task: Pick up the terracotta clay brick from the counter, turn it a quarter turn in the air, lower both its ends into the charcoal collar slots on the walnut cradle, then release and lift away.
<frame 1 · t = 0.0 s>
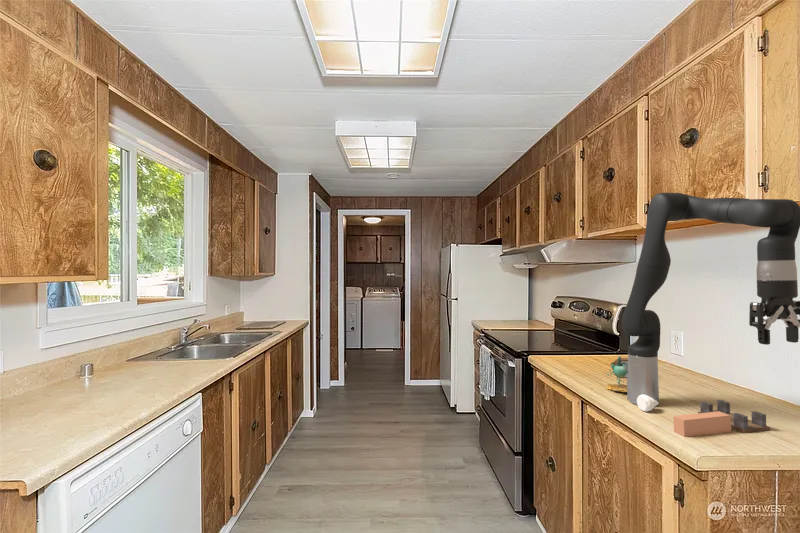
hand: (778, 343, 102), 29 cm above the worktop, fingers open, 8 cm apart
frog figurine: (621, 391, 160), on the worktop
cradle: (731, 422, 126), on the worktop
tin: (631, 378, 179), on the worktop
garlic bulb: (649, 410, 138), on the worktop
terracotta clay brick: (702, 432, 120), on the worktop
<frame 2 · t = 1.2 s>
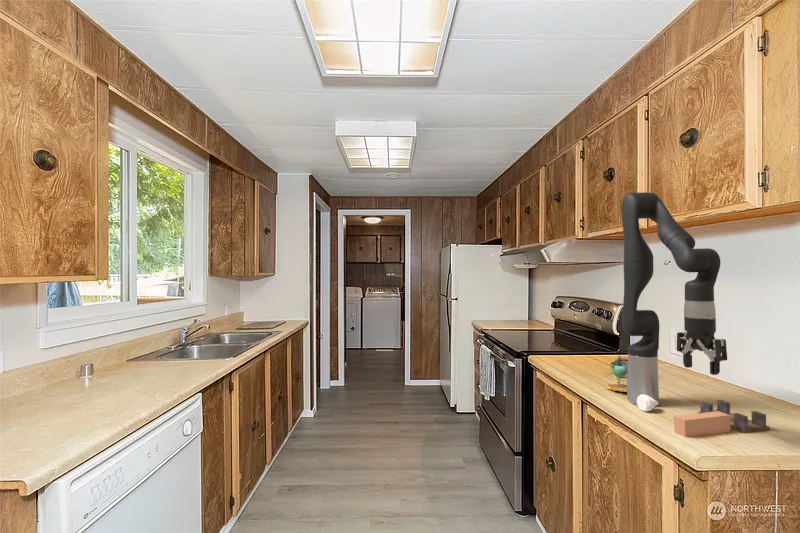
hand: (700, 370, 120), 18 cm above the worktop, fingers open, 8 cm apart
nothing on the worktop moved.
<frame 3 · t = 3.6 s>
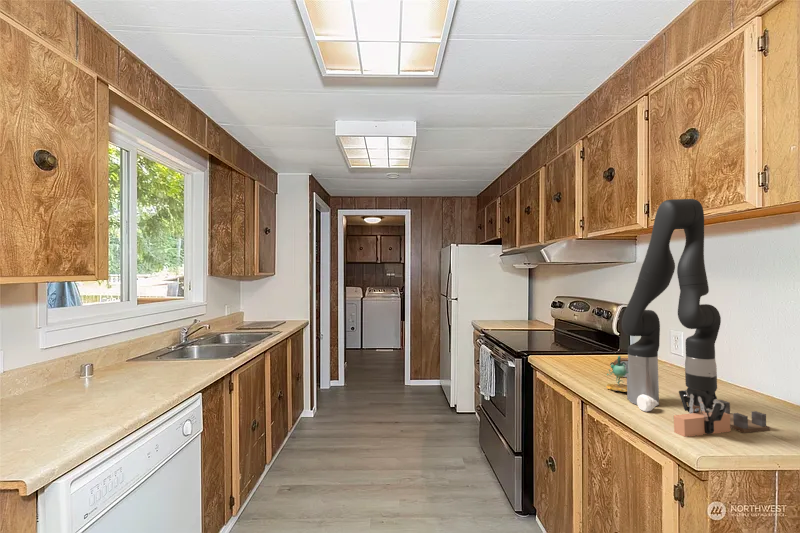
hand: (702, 430, 120), 0 cm above the worktop, fingers closed on terracotta clay brick, 3 cm apart
terracotta clay brick: (702, 431, 120), on the worktop, touching gripper
everything else where it was.
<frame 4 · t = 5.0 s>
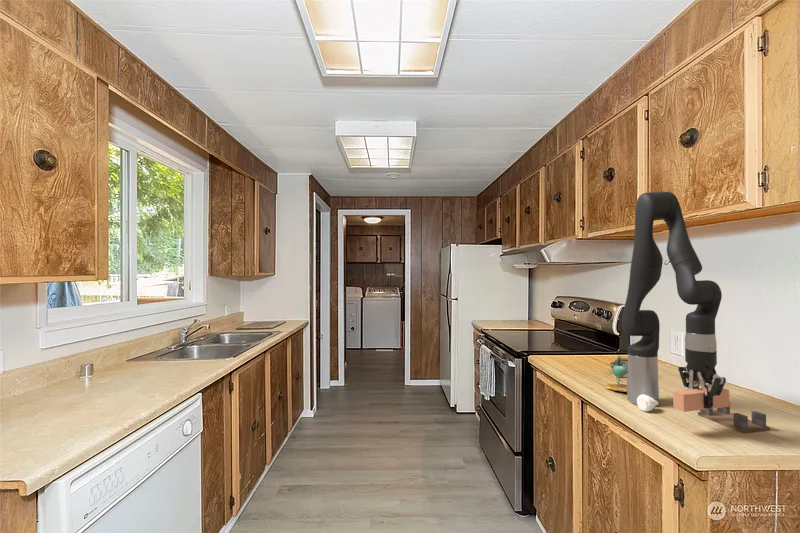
hand: (701, 405, 120), 8 cm above the worktop, fingers closed on terracotta clay brick, 3 cm apart
terracotta clay brick: (701, 407, 120), point 7 cm above the worktop, touching gripper
everything else where it was.
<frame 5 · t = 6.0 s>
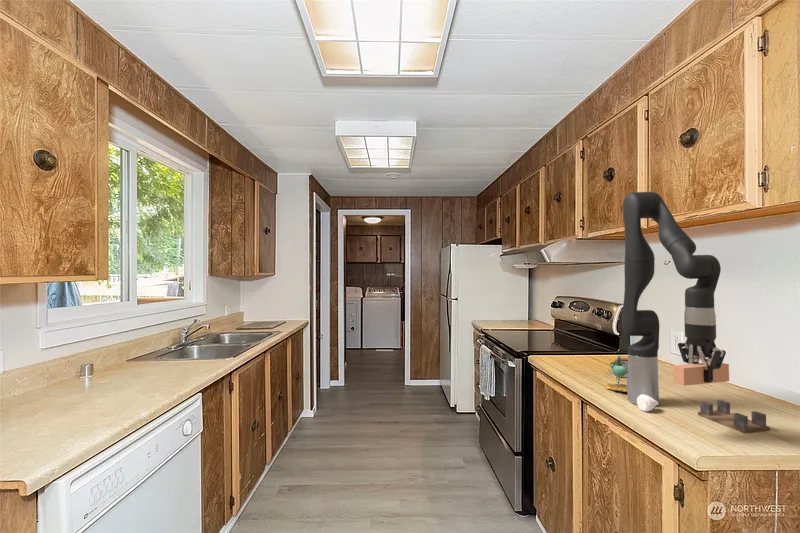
hand: (701, 380, 120), 15 cm above the worktop, fingers closed on terracotta clay brick, 3 cm apart
terracotta clay brick: (701, 381, 120), point 15 cm above the worktop, touching gripper
everything else where it was.
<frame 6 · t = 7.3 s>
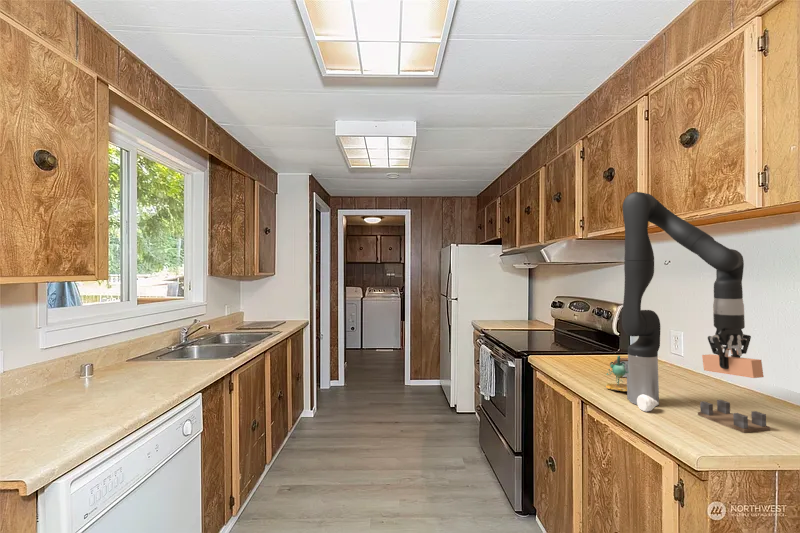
hand: (730, 367, 126), 17 cm above the worktop, fingers closed on terracotta clay brick, 3 cm apart
terracotta clay brick: (732, 373, 126), point 15 cm above the worktop, tilted 6°, touching gripper
everything else where it was.
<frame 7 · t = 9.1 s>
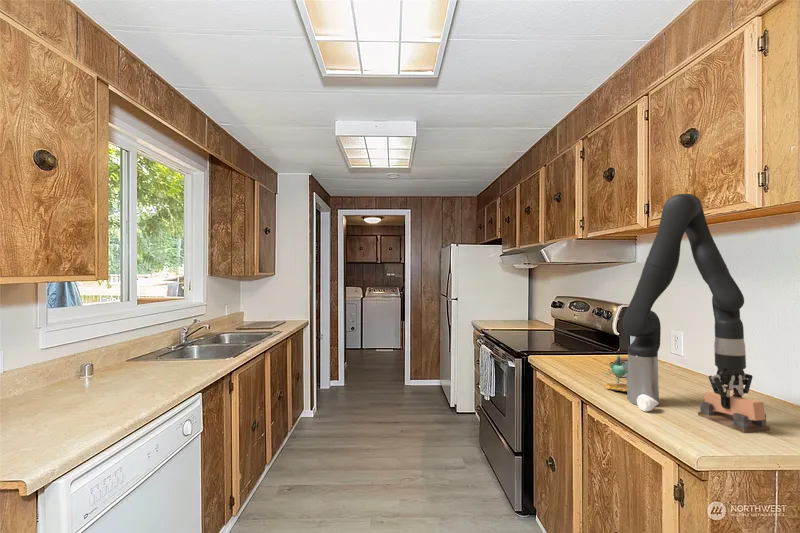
hand: (731, 407, 126), 5 cm above the worktop, fingers closed on terracotta clay brick, 3 cm apart
terracotta clay brick: (733, 413, 125), point 3 cm above the worktop, tilted 6°, touching gripper
everything else where it was.
when the fingers open (3 cm above the worktop, at t = 9.9 s): terracotta clay brick stays where it is, resting on cradle.
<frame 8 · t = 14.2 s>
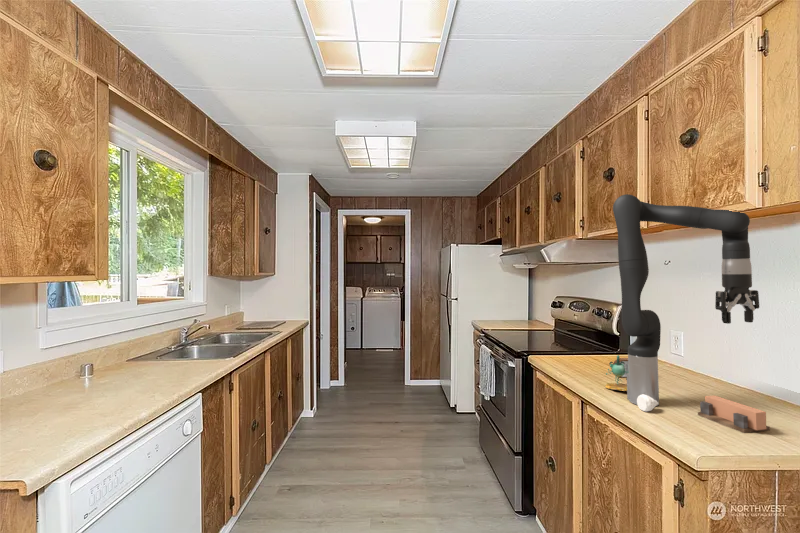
hand: (737, 322, 132), 30 cm above the worktop, fingers open, 8 cm apart
terracotta clay brick: (734, 419, 126), point 1 cm above the worktop, touching cradle
at the end: terracotta clay brick 0.7 cm off-centre on the cradle, point 1.0 cm above the cradle's base; terracotta clay brick tilted 0°; the gripper is holding nothing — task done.
